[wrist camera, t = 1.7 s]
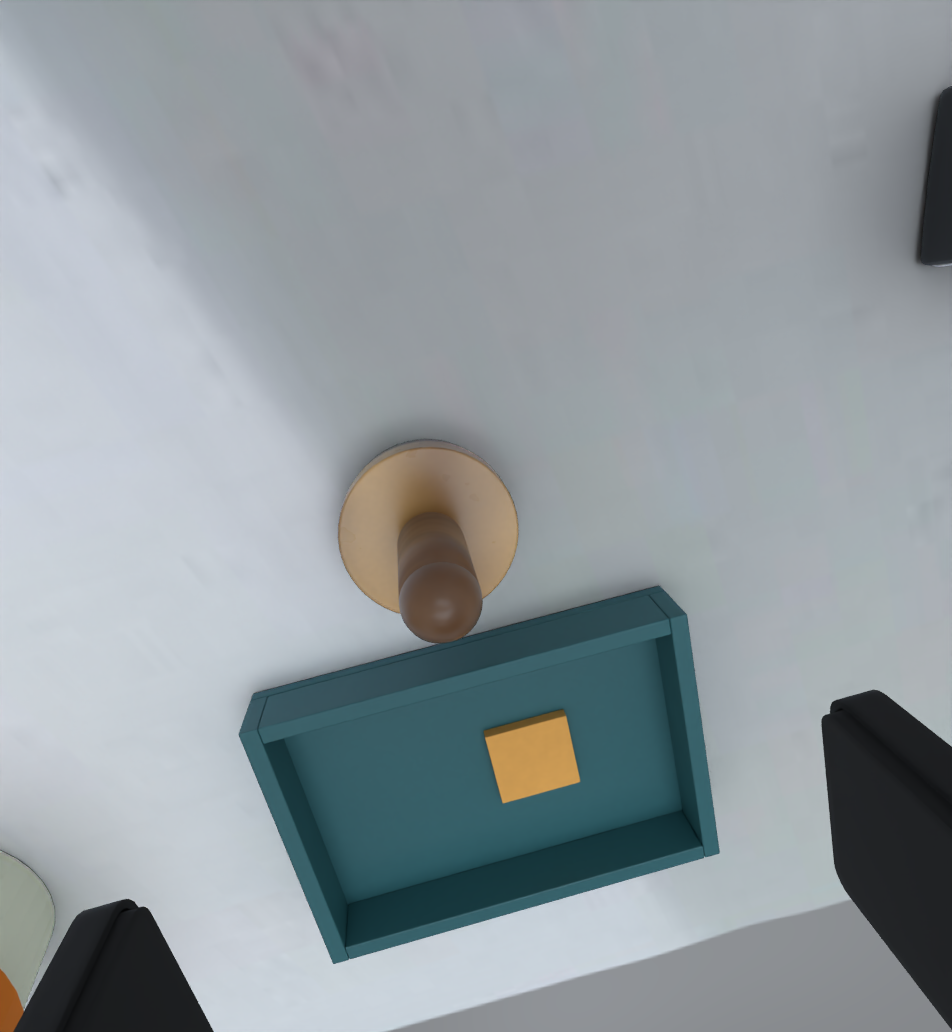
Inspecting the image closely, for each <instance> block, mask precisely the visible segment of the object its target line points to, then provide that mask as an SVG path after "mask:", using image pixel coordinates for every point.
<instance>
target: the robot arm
mask: <svg viewBox="0 0 952 1032" xmlns="http://www.w3.org/2000/svg"><path fill="white" fill-rule="evenodd" d="M822 735H823V746H824V757H825V768H826V779H827V790H828V801H829V812H830V823H831V834H832V845H833V856H834V864H835V869H836V872H837V875H838V877H839V879H840V882H841V884H842V885H843V887H844V889H845V891H846V892H847V894H848V895H849V896H850V898H851V899H852V900H853V902H854V903H855V904H856V905H857V907H858V908H859V909H860V911H861V912H862V913H863V915H864V916H865V917H866V918H867V920H868V921H869V922H870V924H871V925H872V926H873V928H874V929H875V930H876V932H877V933H878V934H879V936H880V937H881V938H882V939H883V941H884V942H885V943H886V945H887V946H888V947H889V949H890V950H891V951H892V952H893V954H894V955H895V956H896V958H897V959H898V960H899V962H900V963H901V964H902V965H903V967H904V968H905V969H906V971H907V972H908V973H909V974H910V976H911V977H912V978H913V980H914V981H915V982H916V984H917V985H918V986H919V988H920V989H921V990H922V992H923V993H924V994H925V995H926V997H927V998H928V999H929V1001H930V1002H931V1003H932V1005H933V1006H934V1007H935V1008H936V1010H937V1011H938V1012H939V1014H940V1015H941V1016H942V1018H943V1019H944V1020H945V1021H946V1023H947V1024H948V1025H949V1027H950V1028H951V1029H952V747H951V746H950V745H949V744H947V743H946V742H945V741H944V740H942V739H941V738H940V737H939V736H937V735H936V734H935V733H933V732H932V731H931V730H930V729H928V728H927V727H926V726H925V725H923V724H922V723H921V722H920V721H918V720H917V719H916V718H915V717H913V716H912V715H911V714H909V713H908V712H907V711H906V710H904V709H903V708H902V707H901V706H899V705H898V704H897V703H896V702H894V701H893V700H892V699H890V698H889V697H888V696H887V695H885V694H884V693H882V692H880V691H878V690H871V691H867V692H863V693H860V694H856V695H853V696H849V697H846V698H842V699H838V700H836V701H834V702H832V704H831V706H830V714H827V715H825V716H823V718H822ZM13 1032H214V1031H213V1030H212V1028H211V1026H210V1024H209V1022H208V1020H207V1018H206V1016H205V1014H204V1013H203V1011H202V1009H201V1007H200V1005H199V1003H198V1001H197V999H196V997H195V995H194V994H193V992H192V990H191V988H190V986H189V984H188V982H187V980H186V978H185V976H184V975H183V973H182V971H181V969H180V967H179V965H178V963H177V961H176V959H175V957H174V956H173V954H172V952H171V950H170V948H169V946H168V944H167V942H166V940H165V938H164V937H163V935H162V933H161V931H160V929H159V927H158V925H157V923H156V921H155V919H154V918H153V916H152V914H151V912H150V911H149V910H148V909H147V908H146V907H139V908H138V906H137V905H136V904H135V902H134V901H132V900H130V899H125V900H120V901H117V902H113V903H110V904H106V905H102V906H99V907H95V908H92V909H88V910H85V911H83V912H81V913H80V914H78V915H77V916H76V918H75V919H74V921H73V922H72V924H71V926H70V927H69V929H68V931H67V933H66V935H65V937H64V939H63V940H62V942H61V944H60V946H59V948H58V950H57V952H56V953H55V955H54V957H53V959H52V961H51V963H50V965H49V966H48V968H47V970H46V972H45V974H44V976H43V978H42V979H41V981H40V983H39V985H38V987H37V989H36V991H35V992H34V994H33V996H32V998H31V1000H30V1002H29V1004H28V1005H27V1007H26V1009H25V1011H24V1013H23V1015H22V1016H21V1018H20V1020H19V1022H18V1024H17V1026H16V1028H15V1029H14V1031H13Z"/></svg>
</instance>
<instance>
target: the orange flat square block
mask: <svg viewBox="0 0 952 1032" xmlns="http://www.w3.org/2000/svg"><path fill="white" fill-rule="evenodd" d="M484 736H485V740H486V744H487V747H488V751H489V755H490V758H491V762H492V766H493V770H494V773H495V777H496V781H497V785H498V788H499V792H500V796H501V800H502V803H507V802H510V801H514V800H517V799H521V798H525V797H528V796H532V795H535V794H539V793H543V792H546V791H550V790H553V789H557V788H561V787H564V786H568V785H571V784H575V783H579V782H580V777H579V772H578V768H577V763H576V759H575V754H574V749H573V745H572V740H571V735H570V731H569V726H568V722H567V717H566V714H565V712H564V710H563V709H561V710H557V711H554V712H550V713H546V714H543V715H539V716H535V717H532V718H528V719H524V720H521V721H517V722H513V723H510V724H506V725H502V726H499V727H495V728H491V729H488V730H484Z"/></svg>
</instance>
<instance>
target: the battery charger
mask: <svg viewBox="0 0 952 1032" xmlns="http://www.w3.org/2000/svg"><path fill="white" fill-rule="evenodd" d="M921 261H922V263H923V264H925V265H933V266H935V267H943V266H950V265H952V86H950V87H948V88H947V89H945V90H944V91H943V92H942V94H941V96H940V101H939V108H938V115H937V121H936V128H935V134H934V142H933V149H932V156H931V164H930V172H929V179H928V188H927V197H926V207H925V217H924V226H923V238H922V250H921Z"/></svg>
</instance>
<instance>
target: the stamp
mask: <svg viewBox="0 0 952 1032" xmlns="http://www.w3.org/2000/svg"><path fill="white" fill-rule="evenodd" d="M338 542H339V549H340V553H341V557H342V560H343V563H344V565H345V568H346V570H347V572H348V573H349V575H350V577H351V579H352V580H353V581H354V583H355V584H356V585H357V586H358V588H359V589H360V590H361V591H362V592H363V593H364V594H365V595H366V596H368V597H369V598H370V599H372V600H373V601H374V602H376V603H377V604H379V605H381V606H383V607H384V608H387V609H389V610H391V611H394V612H396V613H400V614H401V616H402V619H403V621H404V623H405V624H406V626H407V627H408V628H409V630H410V631H412V632H413V633H414V634H415V635H416V636H417V637H419V638H421V639H423V640H425V641H428V642H432V643H449V642H453V641H455V640H458V639H460V638H462V637H463V636H465V635H466V634H467V633H469V632H470V631H471V630H472V628H473V627H474V626H475V625H476V623H477V621H478V619H479V617H480V614H481V610H482V602H483V601H482V599H483V598H485V597H486V596H487V595H488V594H490V593H491V592H492V591H493V590H494V589H495V588H496V586H497V585H498V584H499V583H500V582H501V580H502V579H503V578H504V576H505V575H506V573H507V571H508V569H509V568H510V566H511V563H512V561H513V558H514V556H515V552H516V548H517V542H518V518H517V512H516V509H515V506H514V502H513V500H512V498H511V496H510V493H509V491H508V490H507V488H506V487H505V485H504V483H503V482H502V480H501V479H500V477H499V476H498V474H497V473H496V472H495V471H494V470H493V468H492V467H491V466H490V465H488V464H487V463H486V462H485V461H484V460H483V459H481V458H480V457H478V456H477V455H475V454H474V453H472V452H470V451H468V450H466V449H464V448H462V447H460V446H458V445H455V444H452V443H449V442H445V441H441V440H432V439H421V440H413V441H407V442H404V443H401V444H398V445H395V446H393V447H391V448H389V449H387V450H385V451H384V452H382V453H380V454H379V455H377V456H376V457H375V458H374V459H373V460H372V461H370V462H369V464H368V465H366V466H365V467H364V468H363V470H362V471H361V472H360V473H359V474H358V475H357V477H356V478H355V479H354V481H353V482H352V484H351V486H350V488H349V490H348V492H347V494H346V496H345V499H344V502H343V505H342V509H341V513H340V519H339V524H338Z"/></svg>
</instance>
